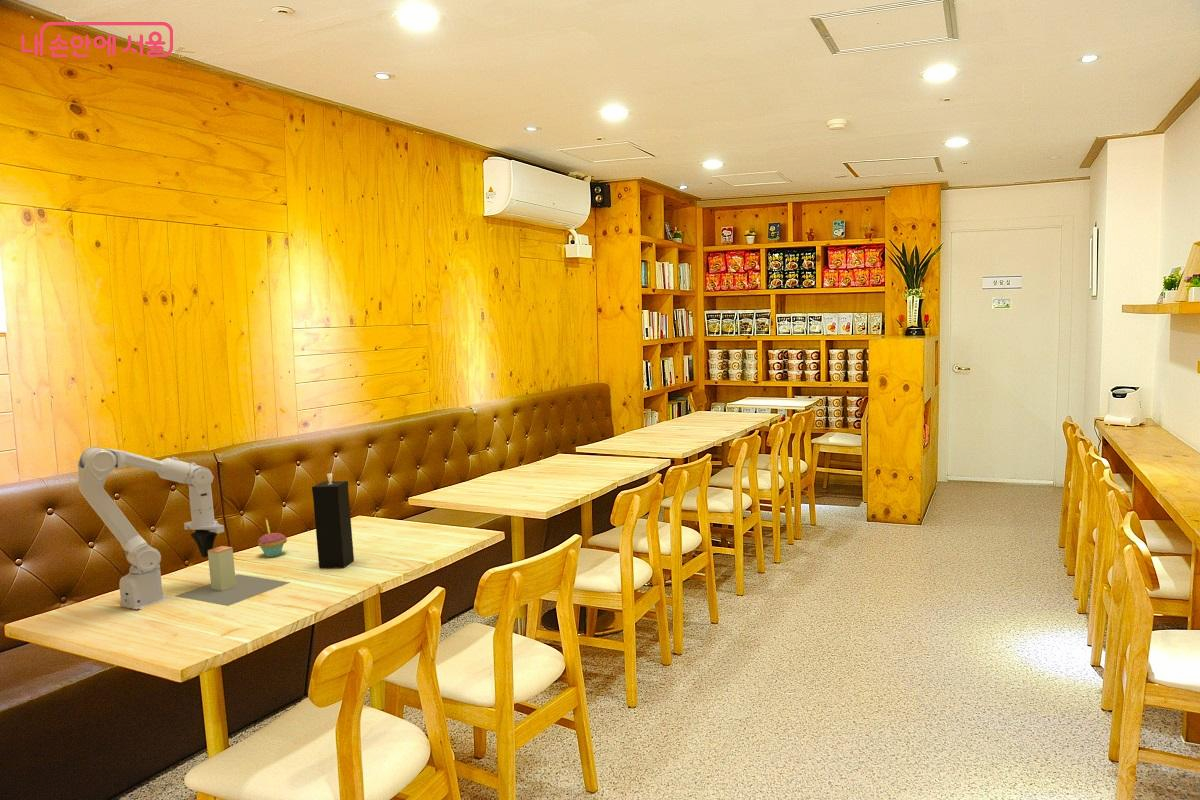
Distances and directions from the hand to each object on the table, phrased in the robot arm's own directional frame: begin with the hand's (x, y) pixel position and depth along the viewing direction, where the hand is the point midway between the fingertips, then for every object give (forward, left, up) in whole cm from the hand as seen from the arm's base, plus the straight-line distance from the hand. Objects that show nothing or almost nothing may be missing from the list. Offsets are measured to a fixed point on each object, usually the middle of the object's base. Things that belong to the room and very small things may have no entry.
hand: (206, 556), depth 232 cm
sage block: (0, -6, -8) cm, 10 cm away
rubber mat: (0, -10, -9) cm, 13 cm away
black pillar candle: (+29, -19, -9) cm, 36 cm away
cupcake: (+30, +10, -9) cm, 33 cm away
